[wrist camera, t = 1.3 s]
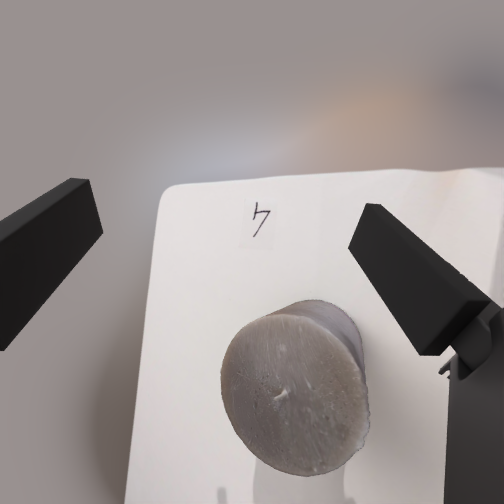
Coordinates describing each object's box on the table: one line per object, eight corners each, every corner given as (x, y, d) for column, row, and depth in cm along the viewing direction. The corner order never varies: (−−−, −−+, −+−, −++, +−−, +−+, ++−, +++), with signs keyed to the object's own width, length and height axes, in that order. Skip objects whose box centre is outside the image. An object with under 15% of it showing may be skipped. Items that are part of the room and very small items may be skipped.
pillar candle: (269, 370, 30) (196, 447, 16) (283, 290, 30) (222, 299, 16) (356, 401, 26) (356, 538, 12) (370, 309, 26) (386, 342, 13)
